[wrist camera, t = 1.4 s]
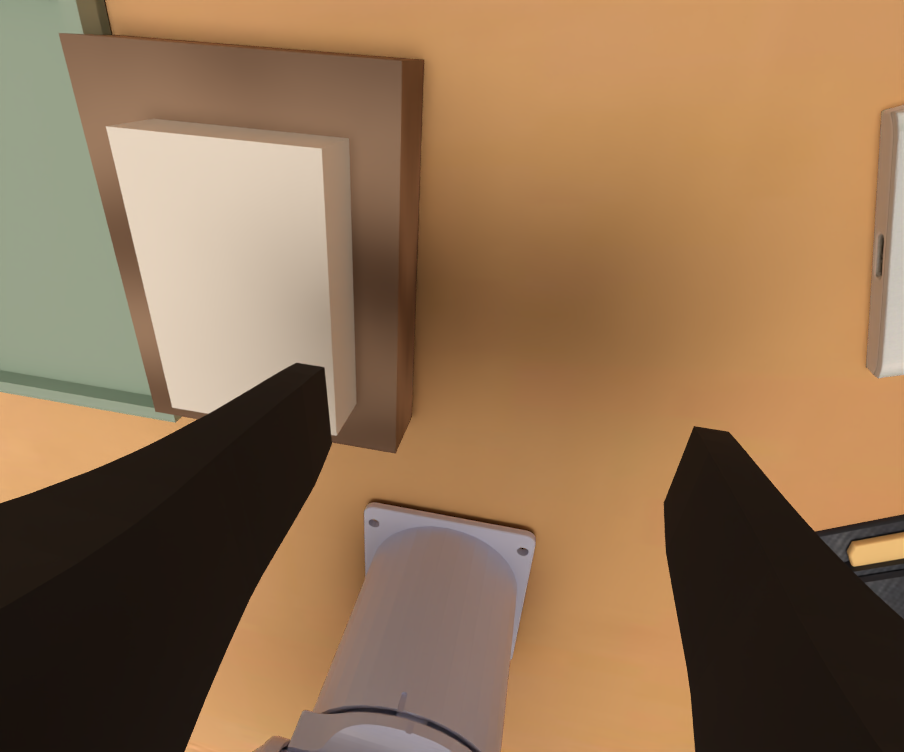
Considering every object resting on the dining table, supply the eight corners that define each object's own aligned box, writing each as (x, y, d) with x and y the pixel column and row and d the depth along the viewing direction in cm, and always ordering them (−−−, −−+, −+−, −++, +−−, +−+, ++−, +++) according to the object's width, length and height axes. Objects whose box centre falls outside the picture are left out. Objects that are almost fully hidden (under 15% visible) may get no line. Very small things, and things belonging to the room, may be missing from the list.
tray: (191, 407, 25) (175, 422, 24) (-23, 371, 27) (-47, 383, 26) (99, -23, 17) (69, -28, 16) (-204, -43, 18) (-250, -49, 17)
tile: (356, 403, 20) (336, 435, 18) (204, 378, 21) (172, 407, 19) (349, 138, 16) (321, 148, 14) (154, 118, 16) (105, 126, 15)
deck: (411, 416, 23) (395, 453, 21) (191, 380, 24) (155, 411, 22) (423, 59, 16) (401, 60, 14) (120, 35, 18) (58, 32, 16)
